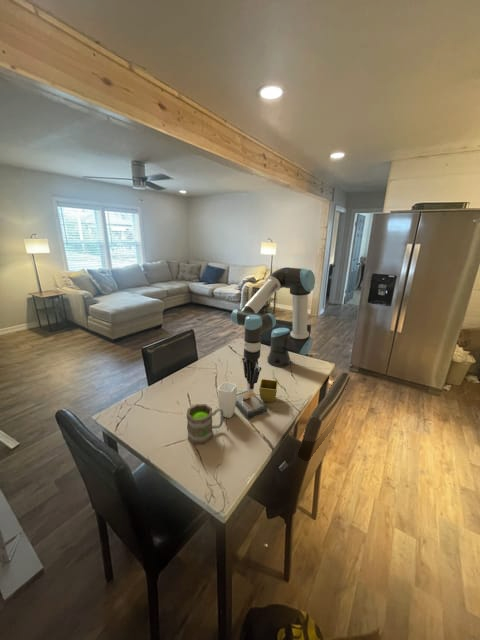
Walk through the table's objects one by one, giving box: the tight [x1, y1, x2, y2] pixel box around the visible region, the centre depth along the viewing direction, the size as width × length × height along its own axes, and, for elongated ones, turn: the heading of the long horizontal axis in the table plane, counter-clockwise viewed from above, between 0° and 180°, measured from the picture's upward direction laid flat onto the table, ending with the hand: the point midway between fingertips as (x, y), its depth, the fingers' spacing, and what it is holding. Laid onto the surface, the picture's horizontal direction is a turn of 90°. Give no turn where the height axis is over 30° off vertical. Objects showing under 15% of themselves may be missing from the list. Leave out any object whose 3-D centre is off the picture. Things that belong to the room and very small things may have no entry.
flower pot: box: [259, 378, 279, 403], centre depth 134 cm, size 9×9×9 cm
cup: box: [217, 381, 238, 419], centre depth 121 cm, size 7×7×15 cm
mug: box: [186, 403, 224, 446], centre depth 109 cm, size 16×11×12 cm
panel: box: [235, 390, 268, 420], centre depth 129 cm, size 11×16×3 cm
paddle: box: [242, 392, 256, 400], centre depth 128 cm, size 4×1×7 cm
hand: (250, 393), depth 126 cm, fingers closed
